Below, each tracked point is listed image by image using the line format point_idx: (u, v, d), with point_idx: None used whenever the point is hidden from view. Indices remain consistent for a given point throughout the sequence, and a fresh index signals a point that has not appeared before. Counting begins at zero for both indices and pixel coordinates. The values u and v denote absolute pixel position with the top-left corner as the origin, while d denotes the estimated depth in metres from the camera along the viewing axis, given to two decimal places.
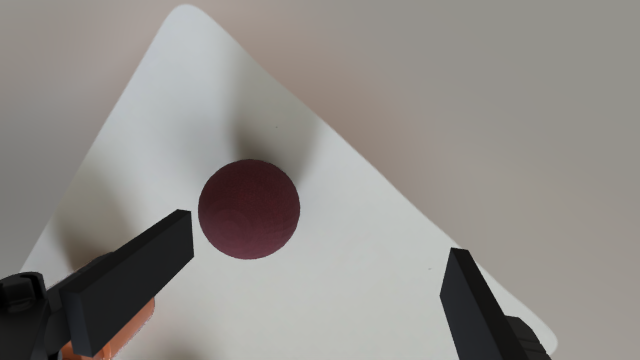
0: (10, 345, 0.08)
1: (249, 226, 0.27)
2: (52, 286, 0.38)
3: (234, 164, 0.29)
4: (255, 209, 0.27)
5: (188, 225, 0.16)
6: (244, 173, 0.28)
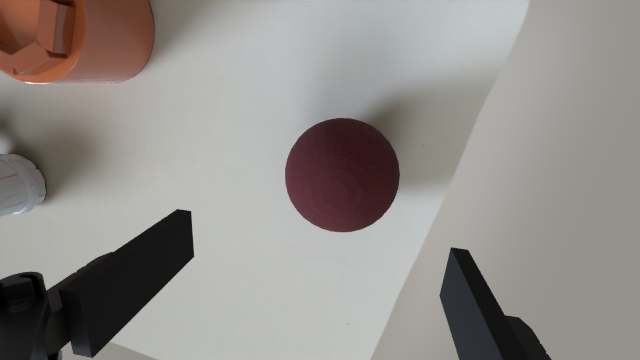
0: (10, 345, 0.08)
1: (350, 211, 0.23)
2: None
3: (389, 145, 0.25)
4: (369, 206, 0.24)
5: (188, 225, 0.16)
6: (392, 168, 0.24)
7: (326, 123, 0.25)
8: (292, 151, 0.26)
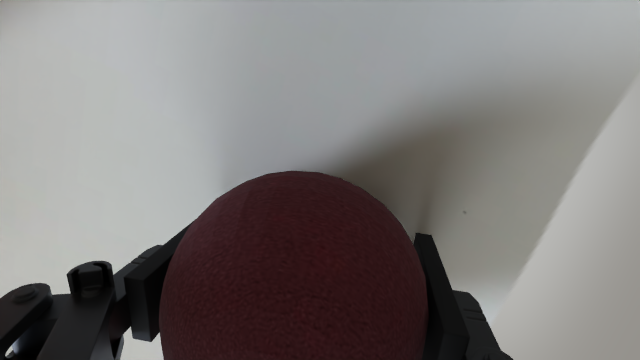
0: (80, 329, 0.09)
1: None
2: None
3: (405, 246, 0.10)
4: None
5: None
6: (416, 315, 0.09)
7: (251, 192, 0.10)
8: (173, 257, 0.11)
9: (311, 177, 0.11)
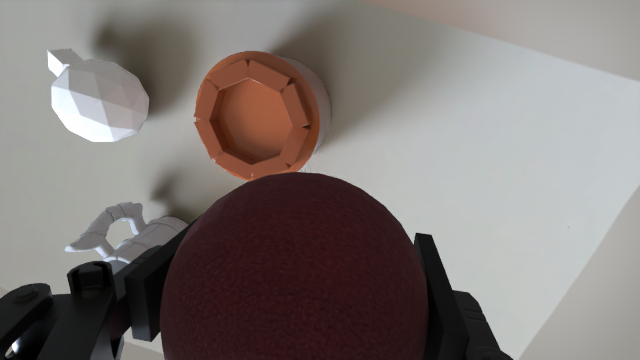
0: (80, 329, 0.09)
1: None
2: (302, 71, 0.28)
3: (406, 247, 0.10)
4: None
5: None
6: (416, 317, 0.09)
7: (251, 194, 0.10)
8: (173, 258, 0.11)
9: (312, 178, 0.11)
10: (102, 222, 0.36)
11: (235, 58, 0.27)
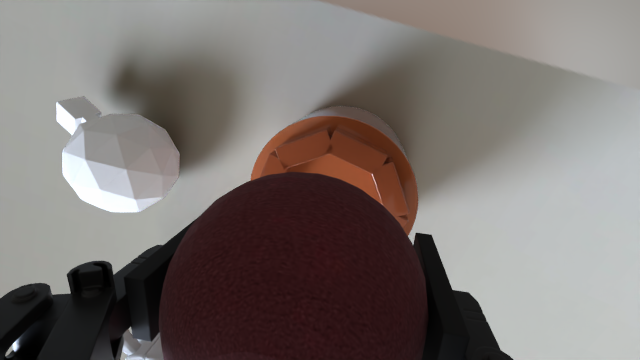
0: (80, 329, 0.09)
1: None
2: (391, 136, 0.22)
3: (405, 247, 0.10)
4: None
5: None
6: (415, 316, 0.09)
7: (250, 194, 0.10)
8: (172, 258, 0.11)
9: (311, 178, 0.11)
10: None
11: (307, 124, 0.21)
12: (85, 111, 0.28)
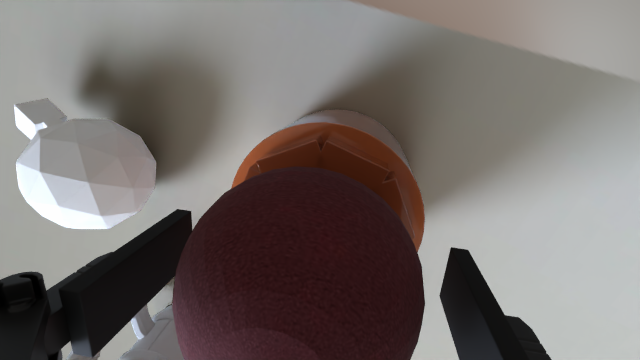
0: (10, 345, 0.08)
1: None
2: (393, 146, 0.19)
3: (402, 235, 0.11)
4: None
5: (188, 225, 0.16)
6: (412, 299, 0.10)
7: (258, 186, 0.11)
8: (185, 246, 0.12)
9: (314, 172, 0.12)
10: None
11: (295, 132, 0.18)
12: (48, 115, 0.25)
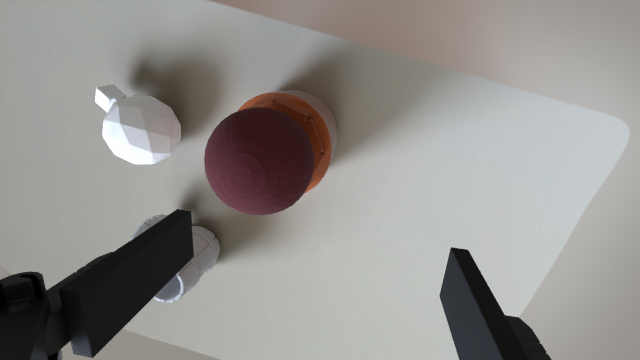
0: (10, 345, 0.08)
1: (257, 192, 0.25)
2: (316, 106, 0.35)
3: (299, 131, 0.27)
4: (276, 188, 0.25)
5: (188, 225, 0.16)
6: (299, 152, 0.26)
7: (239, 111, 0.27)
8: (209, 138, 0.27)
9: None
10: None
11: (262, 98, 0.33)
12: (115, 94, 0.40)
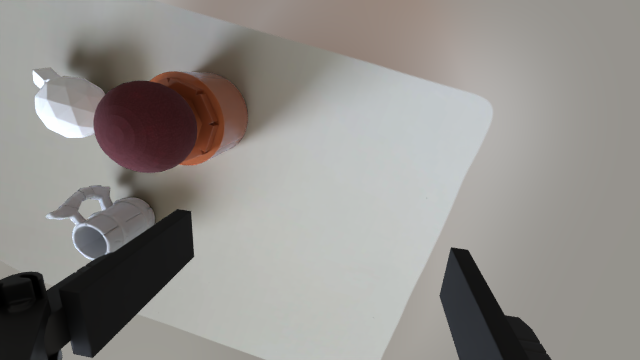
0: (10, 345, 0.08)
1: (130, 148, 0.30)
2: (213, 84, 0.40)
3: (172, 100, 0.32)
4: (146, 145, 0.31)
5: (188, 225, 0.16)
6: (169, 117, 0.31)
7: (123, 83, 0.32)
8: None
9: None
10: (76, 199, 0.47)
11: (162, 76, 0.39)
12: (50, 76, 0.46)
